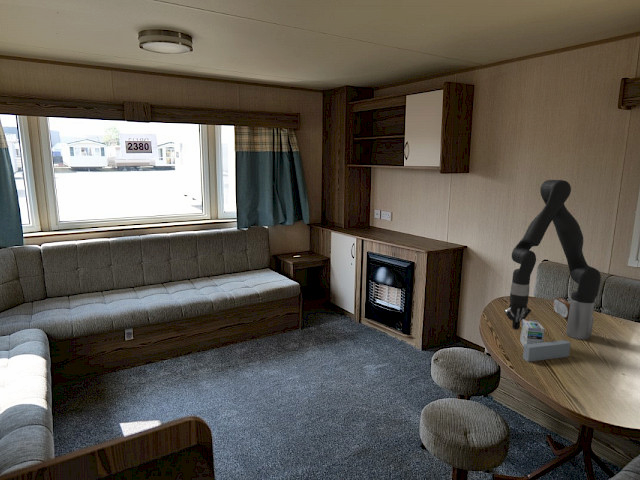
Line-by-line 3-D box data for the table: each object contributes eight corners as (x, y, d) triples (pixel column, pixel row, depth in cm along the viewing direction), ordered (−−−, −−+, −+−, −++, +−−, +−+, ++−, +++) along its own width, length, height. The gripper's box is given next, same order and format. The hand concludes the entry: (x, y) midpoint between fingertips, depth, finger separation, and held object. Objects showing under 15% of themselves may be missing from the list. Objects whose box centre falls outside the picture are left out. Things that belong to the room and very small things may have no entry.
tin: (572, 321, 217) (574, 305, 215) (566, 321, 217) (568, 305, 215) (556, 310, 231) (558, 295, 230) (551, 310, 231) (553, 295, 230)
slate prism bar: (563, 353, 181) (564, 339, 180) (568, 356, 178) (570, 342, 177) (522, 358, 176) (524, 344, 175) (527, 361, 173) (529, 347, 172)
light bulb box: (542, 353, 181) (545, 329, 179) (525, 351, 182) (528, 327, 180) (535, 342, 191) (538, 319, 189) (519, 340, 192) (521, 318, 190)
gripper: (526, 289, 197) (522, 324, 201) (501, 290, 194) (497, 327, 197) (538, 294, 190) (533, 331, 193) (512, 296, 187) (508, 333, 190)
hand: (515, 328), depth 195 cm, fingers closed
